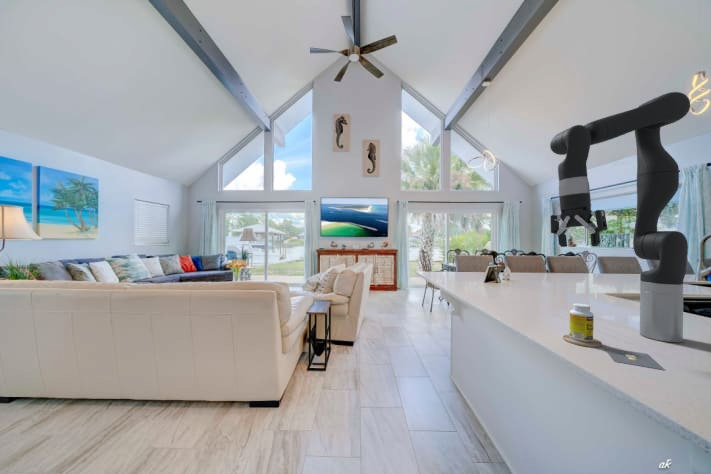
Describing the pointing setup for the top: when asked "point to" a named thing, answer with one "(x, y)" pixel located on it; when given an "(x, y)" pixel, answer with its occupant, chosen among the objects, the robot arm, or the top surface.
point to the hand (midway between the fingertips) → (578, 246)
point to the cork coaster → (587, 344)
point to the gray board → (633, 358)
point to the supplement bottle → (581, 323)
